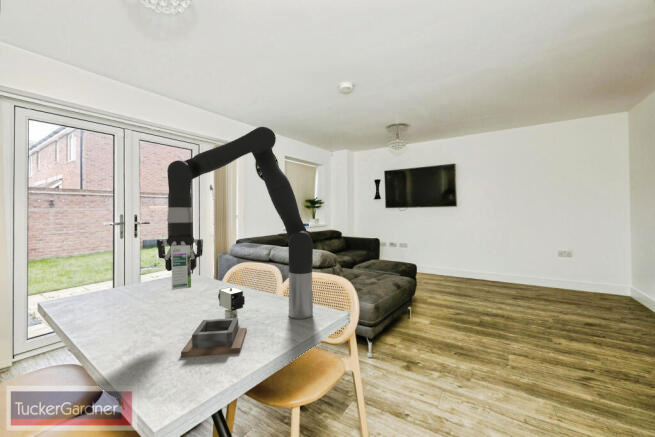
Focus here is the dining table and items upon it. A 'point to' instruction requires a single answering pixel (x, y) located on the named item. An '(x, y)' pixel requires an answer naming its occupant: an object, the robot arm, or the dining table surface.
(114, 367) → the dining table surface
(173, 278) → the syrup box
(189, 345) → the dock socket
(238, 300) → the pneumatic valve
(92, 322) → the dining table surface
